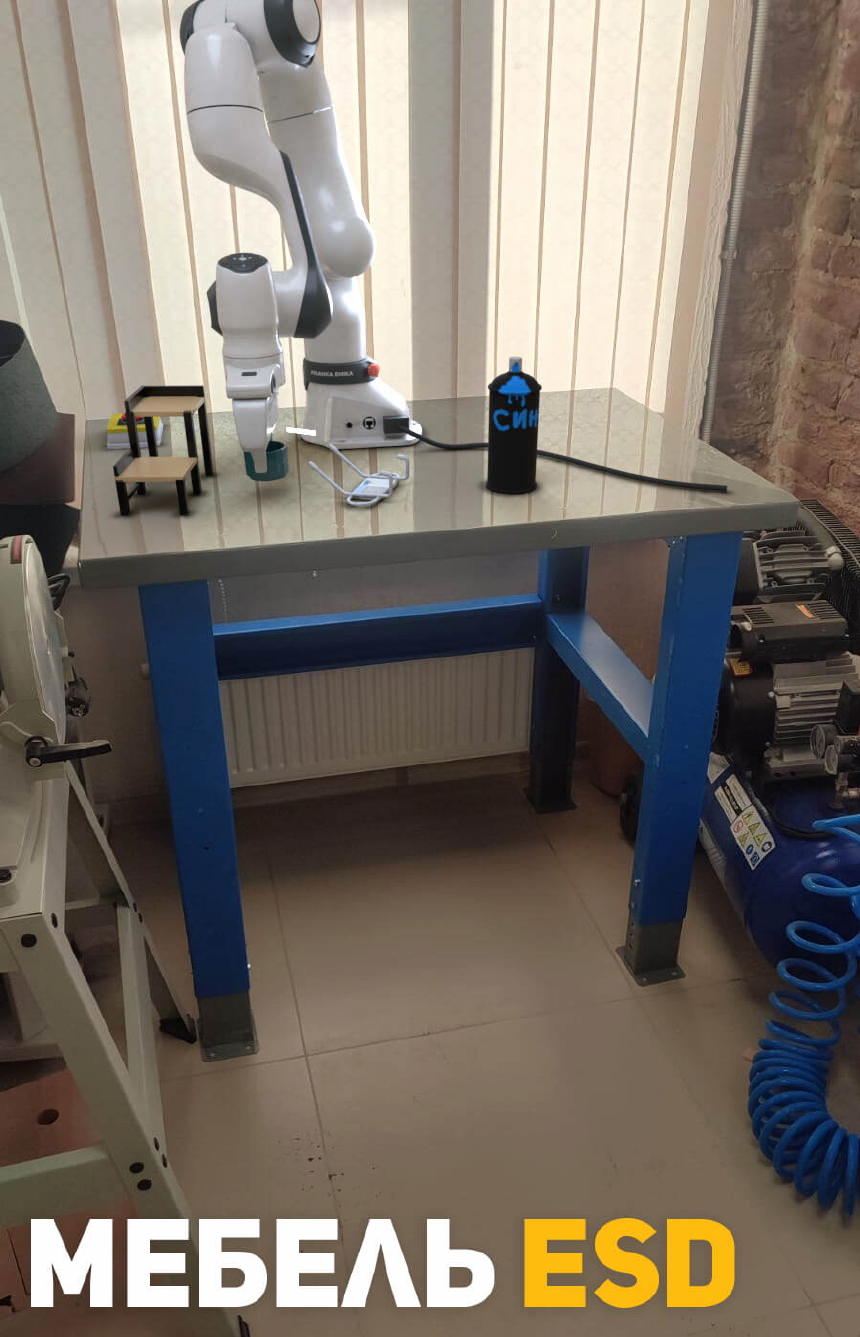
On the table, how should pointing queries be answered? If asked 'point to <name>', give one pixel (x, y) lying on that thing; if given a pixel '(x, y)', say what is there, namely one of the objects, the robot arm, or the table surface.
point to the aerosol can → (513, 431)
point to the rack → (154, 467)
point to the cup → (270, 463)
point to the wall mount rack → (367, 482)
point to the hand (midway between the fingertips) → (264, 463)
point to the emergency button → (119, 432)
